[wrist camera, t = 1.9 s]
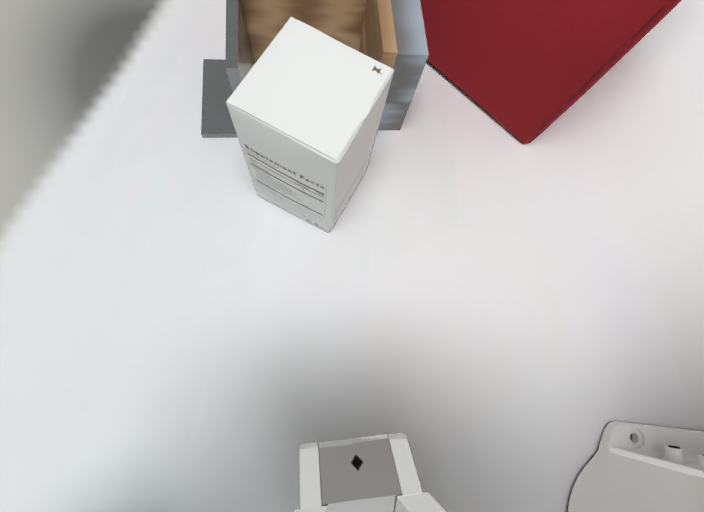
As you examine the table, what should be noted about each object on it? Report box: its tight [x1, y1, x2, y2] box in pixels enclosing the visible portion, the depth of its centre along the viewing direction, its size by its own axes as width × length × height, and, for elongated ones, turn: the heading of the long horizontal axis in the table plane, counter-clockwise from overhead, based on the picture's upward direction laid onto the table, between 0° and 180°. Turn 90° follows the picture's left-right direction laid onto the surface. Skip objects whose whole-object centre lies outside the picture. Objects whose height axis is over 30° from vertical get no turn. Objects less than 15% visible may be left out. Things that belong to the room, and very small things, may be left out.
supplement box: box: [226, 17, 394, 232], centre depth 33 cm, size 9×9×15 cm
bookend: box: [201, 0, 254, 137], centre depth 37 cm, size 6×10×10 cm, turn 4°
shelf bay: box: [242, 0, 429, 130], centre depth 37 cm, size 18×11×12 cm, turn 94°
